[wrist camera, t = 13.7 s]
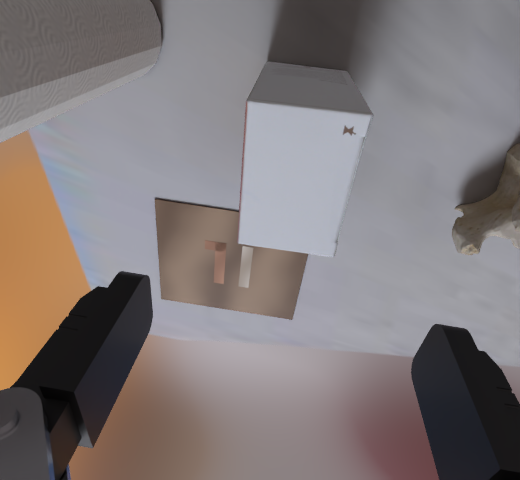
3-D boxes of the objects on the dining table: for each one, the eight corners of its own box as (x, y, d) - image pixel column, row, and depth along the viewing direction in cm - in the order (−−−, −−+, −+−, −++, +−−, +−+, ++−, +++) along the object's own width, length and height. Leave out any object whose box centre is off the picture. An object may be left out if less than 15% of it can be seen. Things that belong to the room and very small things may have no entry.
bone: (496, 271, 29) (508, 316, 21) (433, 219, 31) (421, 241, 22) (597, 192, 25) (664, 207, 17) (519, 137, 27) (544, 126, 18)
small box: (266, 59, 23) (244, 93, 15) (349, 69, 23) (377, 110, 15) (255, 170, 28) (233, 246, 19) (325, 180, 28) (335, 261, 19)
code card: (315, 223, 30) (315, 223, 30) (292, 318, 37) (292, 319, 37) (155, 198, 30) (154, 199, 30) (161, 298, 37) (161, 299, 37)
